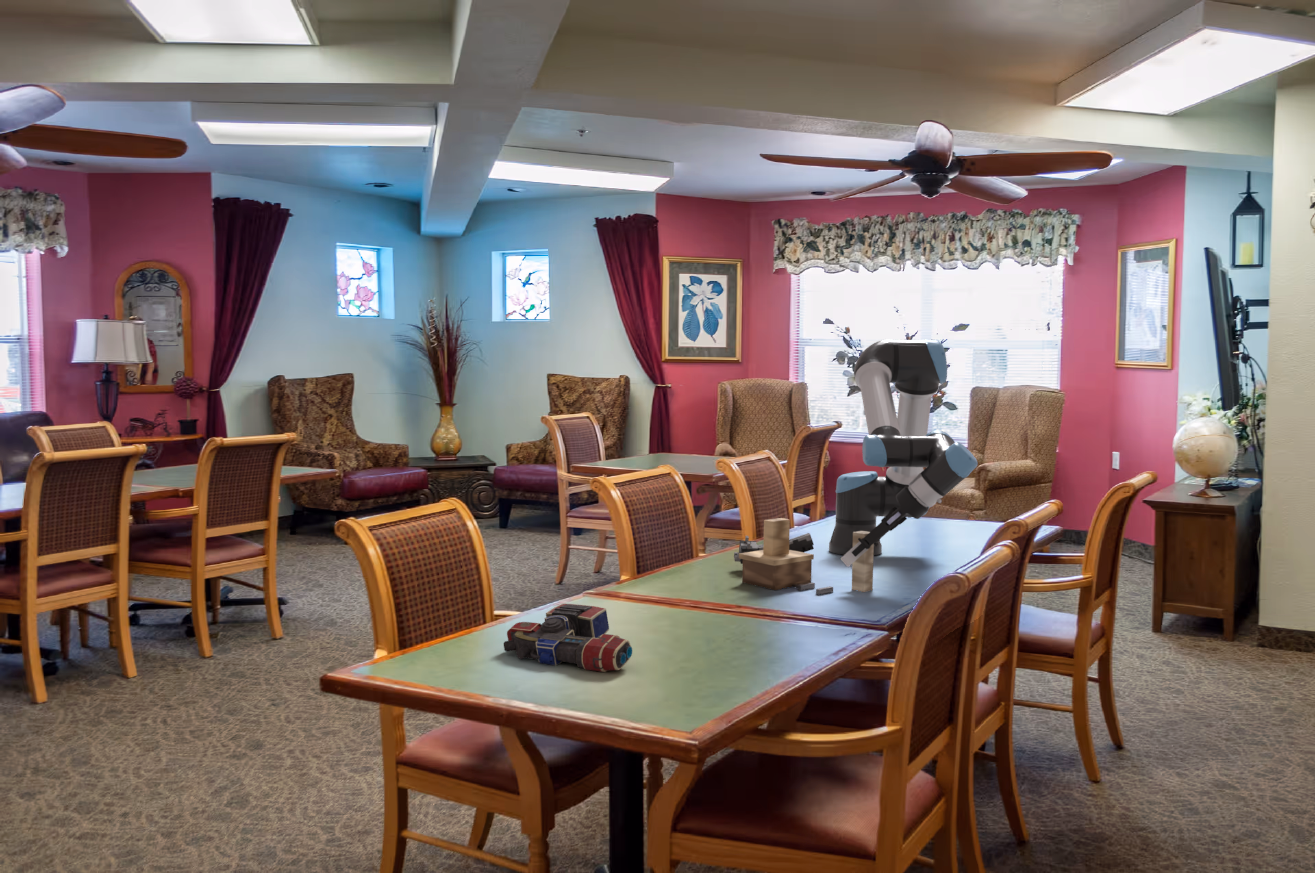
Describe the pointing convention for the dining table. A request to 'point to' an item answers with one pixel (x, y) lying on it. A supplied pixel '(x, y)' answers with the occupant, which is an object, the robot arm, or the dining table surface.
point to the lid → (776, 545)
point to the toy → (795, 544)
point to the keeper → (812, 585)
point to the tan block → (862, 566)
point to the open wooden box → (776, 574)
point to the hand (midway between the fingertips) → (847, 560)
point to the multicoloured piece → (570, 639)
